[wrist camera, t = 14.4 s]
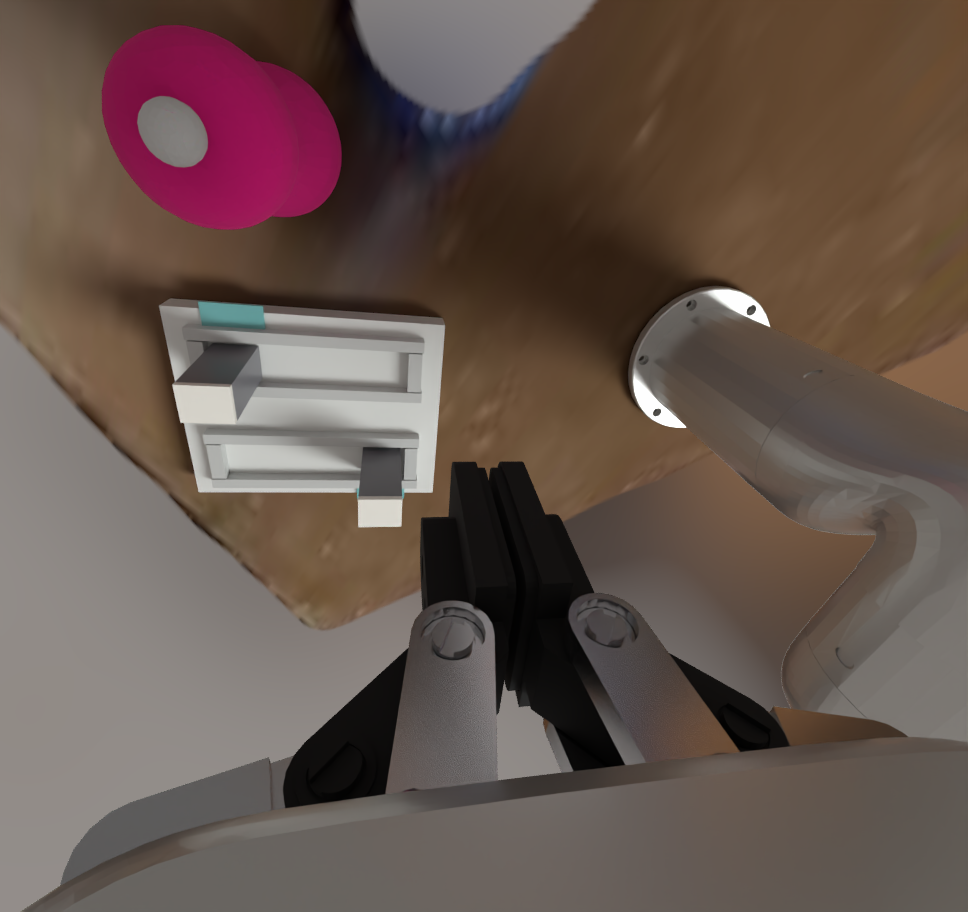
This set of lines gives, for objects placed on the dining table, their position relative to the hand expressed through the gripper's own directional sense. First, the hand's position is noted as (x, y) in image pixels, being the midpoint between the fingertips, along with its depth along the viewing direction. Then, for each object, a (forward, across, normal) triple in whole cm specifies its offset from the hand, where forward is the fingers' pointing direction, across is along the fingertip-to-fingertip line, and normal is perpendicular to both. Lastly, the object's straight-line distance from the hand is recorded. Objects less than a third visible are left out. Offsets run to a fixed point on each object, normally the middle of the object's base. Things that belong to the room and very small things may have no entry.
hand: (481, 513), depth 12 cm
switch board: (+28, +8, +10) cm, 31 cm away
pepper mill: (+29, +9, -7) cm, 31 cm away
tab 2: (+26, +3, +14) cm, 30 cm away
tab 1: (+26, +13, +6) cm, 30 cm away
